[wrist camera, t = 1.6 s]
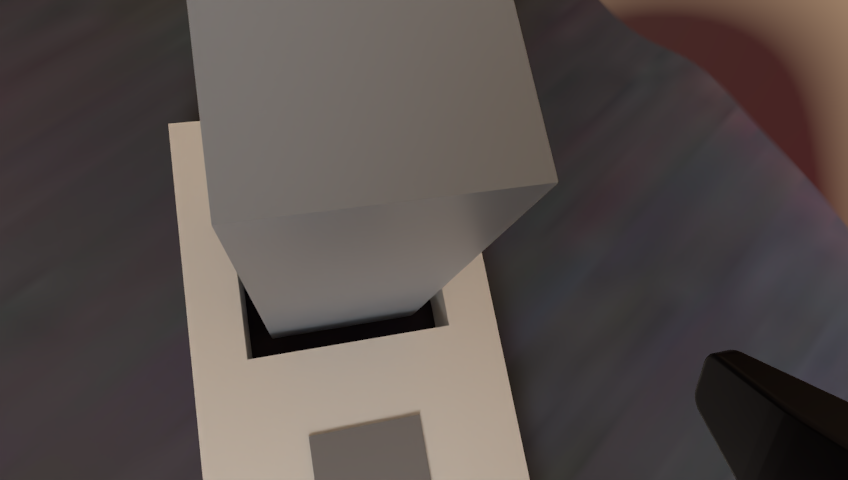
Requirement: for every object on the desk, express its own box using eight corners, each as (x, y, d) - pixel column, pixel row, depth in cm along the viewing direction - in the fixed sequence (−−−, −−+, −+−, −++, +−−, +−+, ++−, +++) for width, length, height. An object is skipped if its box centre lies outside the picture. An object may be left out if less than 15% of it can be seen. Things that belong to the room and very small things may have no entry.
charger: (412, 315, 21) (561, 182, 9) (270, 338, 20) (207, 225, 8) (389, 187, 22) (492, -97, 10) (253, 203, 21) (172, -91, 9)
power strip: (584, 842, 18) (632, 917, 15) (263, 962, 16) (254, 1073, 13) (437, 124, 23) (454, 87, 20) (180, 149, 21) (162, 112, 18)
